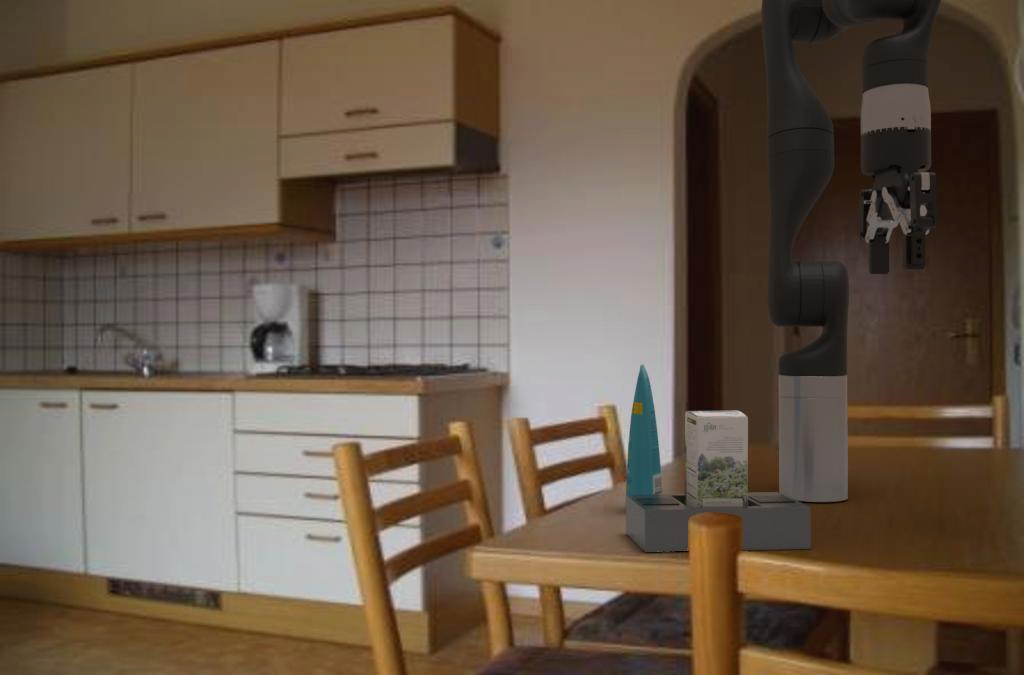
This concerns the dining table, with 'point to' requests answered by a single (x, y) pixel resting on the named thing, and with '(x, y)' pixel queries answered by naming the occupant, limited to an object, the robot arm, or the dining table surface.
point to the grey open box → (764, 519)
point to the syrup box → (716, 459)
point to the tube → (643, 442)
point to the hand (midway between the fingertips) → (896, 272)
